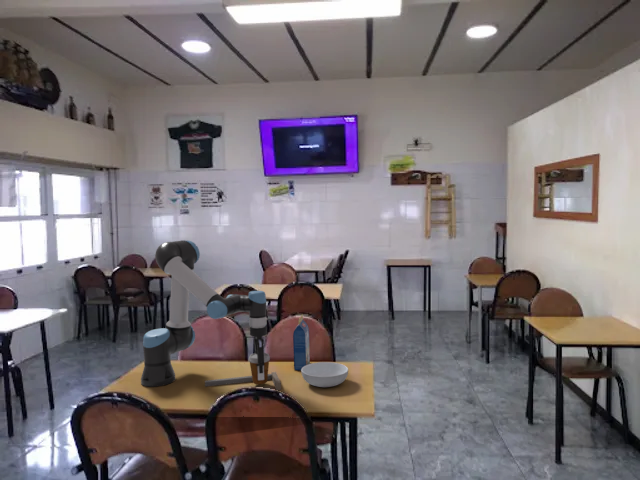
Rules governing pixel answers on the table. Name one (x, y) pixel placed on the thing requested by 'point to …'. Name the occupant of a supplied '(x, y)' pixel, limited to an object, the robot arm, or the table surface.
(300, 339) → the blue food package
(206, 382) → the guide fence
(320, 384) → the serving bowl
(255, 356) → the disposable coffee cup
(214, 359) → the table surface
